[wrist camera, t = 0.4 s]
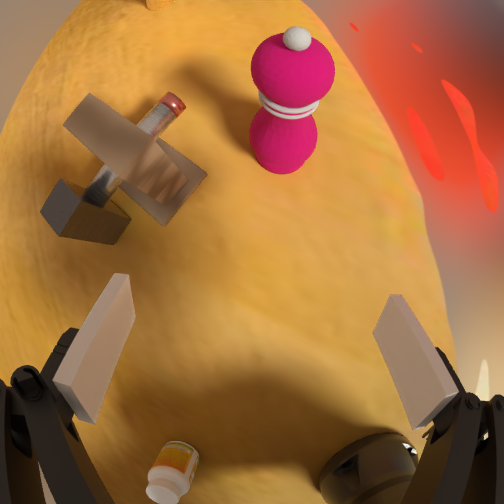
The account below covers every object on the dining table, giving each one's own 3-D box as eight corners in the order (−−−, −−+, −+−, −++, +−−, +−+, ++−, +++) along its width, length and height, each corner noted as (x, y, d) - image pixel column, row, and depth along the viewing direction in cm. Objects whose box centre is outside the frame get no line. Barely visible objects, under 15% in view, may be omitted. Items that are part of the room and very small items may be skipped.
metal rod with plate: (113, 245, 32) (58, 236, 21) (94, 226, 33) (39, 211, 22) (201, 134, 33) (178, 85, 22) (179, 120, 33) (151, 70, 22)
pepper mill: (303, 185, 32) (352, 85, 12) (244, 170, 33) (221, 57, 13) (315, 133, 33) (359, 15, 13) (259, 119, 33) (254, -7, 13)
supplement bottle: (155, 443, 31) (130, 483, 22) (186, 435, 31) (166, 478, 22) (176, 469, 31) (157, 511, 21) (207, 462, 31) (193, 507, 21)
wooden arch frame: (164, 226, 33) (111, 204, 20) (105, 173, 33) (46, 137, 20) (207, 174, 33) (177, 123, 20) (143, 127, 34) (98, 74, 21)
